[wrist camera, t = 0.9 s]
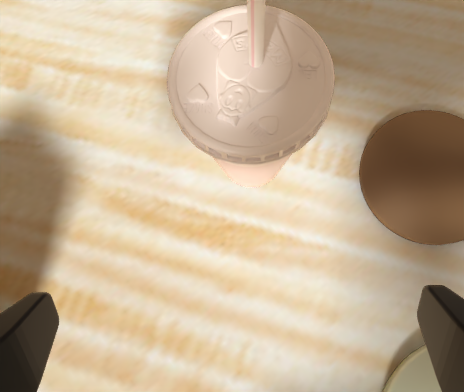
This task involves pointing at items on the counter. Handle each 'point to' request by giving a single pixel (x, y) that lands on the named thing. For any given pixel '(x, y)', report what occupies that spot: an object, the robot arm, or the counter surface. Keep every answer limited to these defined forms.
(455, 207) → the disc
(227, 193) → the counter surface
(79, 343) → the counter surface
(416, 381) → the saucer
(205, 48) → the smoothie
